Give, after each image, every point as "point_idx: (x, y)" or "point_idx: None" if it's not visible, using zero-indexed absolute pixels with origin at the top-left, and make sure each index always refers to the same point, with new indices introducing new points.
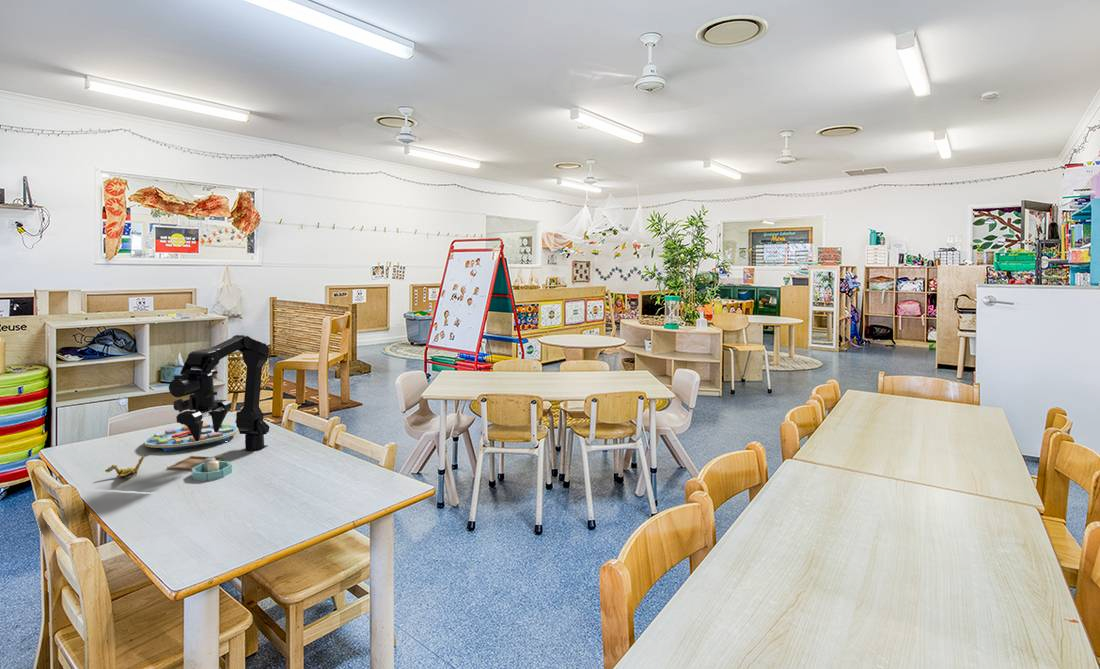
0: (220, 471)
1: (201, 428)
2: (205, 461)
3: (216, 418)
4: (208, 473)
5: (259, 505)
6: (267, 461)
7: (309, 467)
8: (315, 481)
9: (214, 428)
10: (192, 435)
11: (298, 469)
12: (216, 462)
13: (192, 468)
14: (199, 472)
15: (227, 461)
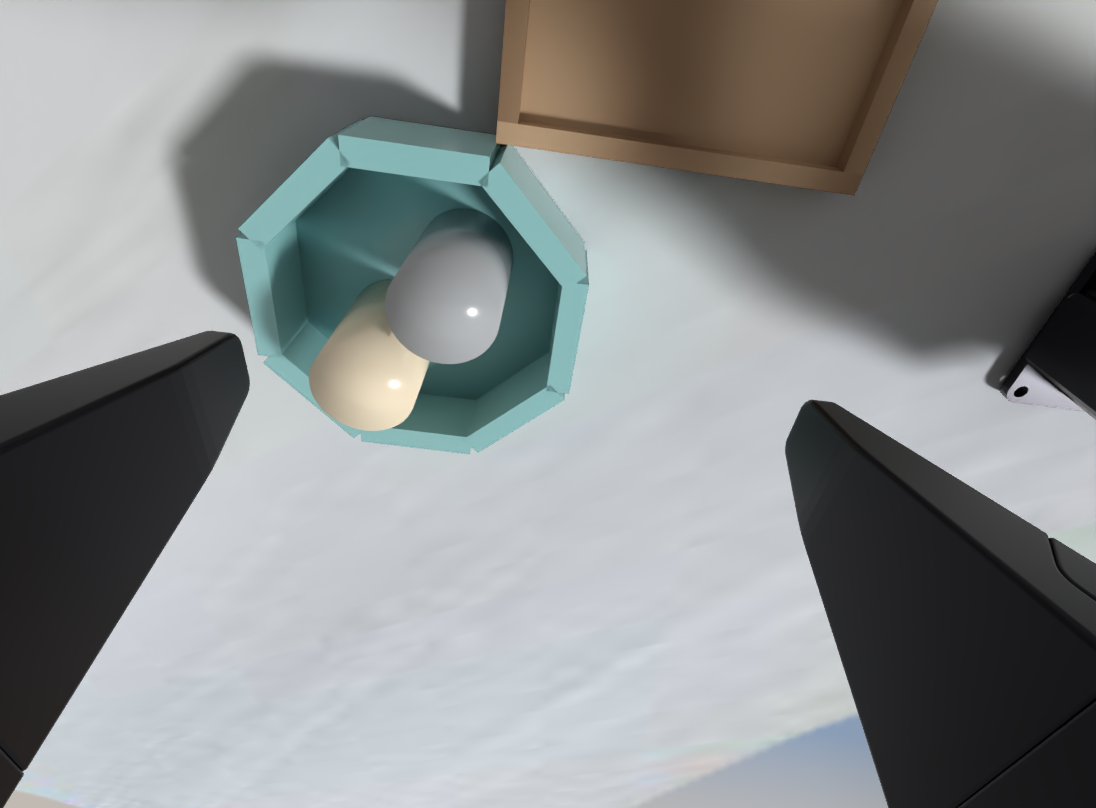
0: (344, 425)
1: (53, 698)
2: (389, 291)
3: (972, 731)
4: (270, 366)
5: (130, 656)
6: (737, 514)
7: (600, 693)
8: (425, 736)
9: (832, 456)
10: (73, 376)
11: (573, 667)
12: (358, 423)
13: (337, 143)
14: (255, 287)
15: (566, 386)
